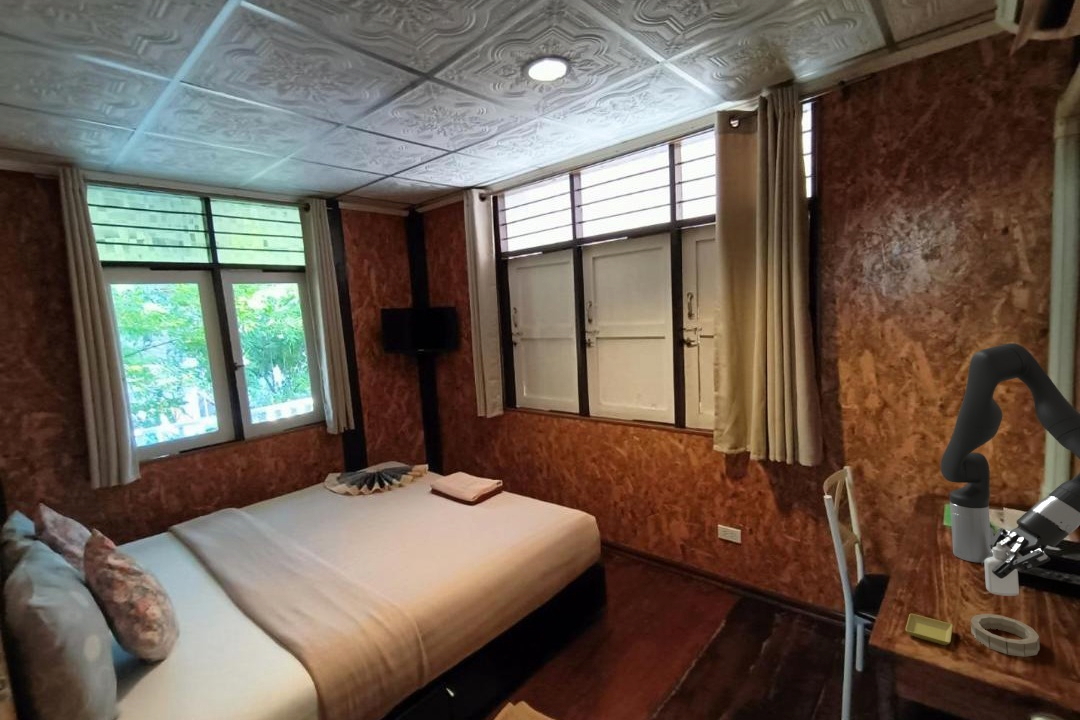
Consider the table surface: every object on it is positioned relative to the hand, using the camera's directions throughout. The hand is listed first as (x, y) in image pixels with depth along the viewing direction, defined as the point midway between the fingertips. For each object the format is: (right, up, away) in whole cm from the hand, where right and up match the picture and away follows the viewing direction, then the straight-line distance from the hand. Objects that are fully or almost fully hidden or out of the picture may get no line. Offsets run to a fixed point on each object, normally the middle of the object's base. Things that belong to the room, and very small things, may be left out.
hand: (990, 570), depth 114 cm
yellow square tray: (-10, -19, +5) cm, 22 cm away
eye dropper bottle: (+3, -5, 0) cm, 6 cm away
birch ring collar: (+4, -17, 0) cm, 17 cm away
